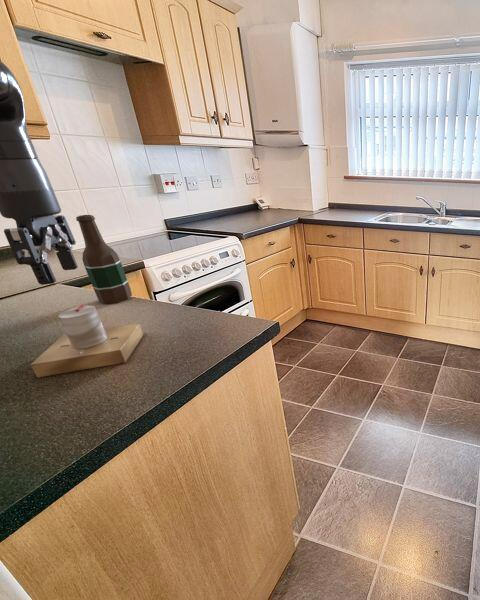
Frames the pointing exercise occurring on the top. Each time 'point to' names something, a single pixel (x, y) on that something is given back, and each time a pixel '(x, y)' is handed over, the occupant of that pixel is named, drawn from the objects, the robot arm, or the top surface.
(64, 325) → the white short cylinder
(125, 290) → the beer bottle
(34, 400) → the top surface
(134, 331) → the wooden board
